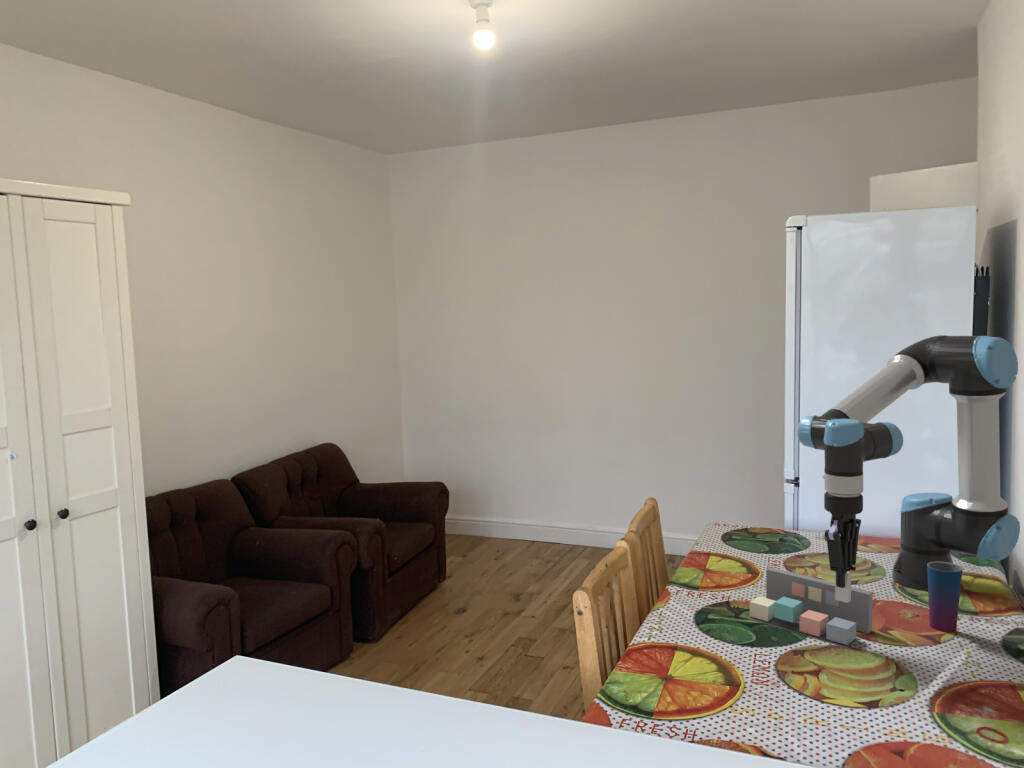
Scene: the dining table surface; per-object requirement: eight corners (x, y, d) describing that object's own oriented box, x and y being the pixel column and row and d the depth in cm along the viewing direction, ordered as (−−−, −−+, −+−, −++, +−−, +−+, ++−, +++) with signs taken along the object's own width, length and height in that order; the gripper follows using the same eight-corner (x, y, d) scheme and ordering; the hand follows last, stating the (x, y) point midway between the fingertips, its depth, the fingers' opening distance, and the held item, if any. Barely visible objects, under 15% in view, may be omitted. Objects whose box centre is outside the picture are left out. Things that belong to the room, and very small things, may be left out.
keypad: (771, 606, 186) (771, 566, 185) (872, 635, 169) (873, 591, 168) (737, 626, 175) (737, 584, 174) (842, 659, 158) (843, 613, 157)
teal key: (783, 611, 176) (783, 596, 175) (802, 616, 172) (802, 601, 172) (773, 617, 173) (774, 602, 172) (793, 622, 169) (793, 607, 169)
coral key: (808, 624, 172) (808, 609, 171) (828, 630, 168) (828, 615, 168) (799, 631, 168) (799, 615, 168) (819, 637, 165) (819, 621, 165)
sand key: (759, 610, 180) (759, 596, 180) (777, 615, 177) (777, 601, 177) (749, 616, 177) (749, 601, 177) (767, 621, 174) (767, 606, 173)
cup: (965, 639, 165) (967, 572, 164) (931, 637, 167) (933, 571, 165) (953, 626, 172) (955, 561, 170) (921, 624, 173) (922, 560, 172)
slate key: (835, 632, 167) (835, 617, 167) (856, 638, 164) (856, 622, 164) (826, 639, 164) (826, 623, 164) (847, 645, 161) (847, 629, 161)
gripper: (838, 484, 168) (838, 587, 171) (812, 496, 159) (812, 604, 162) (874, 489, 163) (873, 595, 165) (848, 502, 154) (847, 614, 156)
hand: (842, 600), depth 163 cm, fingers closed
